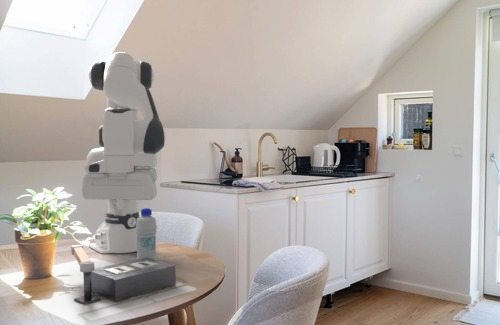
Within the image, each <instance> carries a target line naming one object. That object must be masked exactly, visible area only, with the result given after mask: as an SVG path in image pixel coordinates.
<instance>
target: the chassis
mask: <svg viewBox="0 0 500 325" xmlns="http://www.w3.org/2000/svg"><path fill="white" fill-rule="evenodd" d="M176 268H177V267H176V265H175V264H172V263H169V262H165V261H161V260H157V259H156V260H154V259H150V258H142V259H137V258H136V259H134V260H129V261H124V262H120V263H119V262H118V263H115V264H111V265H106V266H101V267H96V268H95V267H94V271H92V272H91V282H92V294H93V295H95V296H98V297H100V298H103V299H106V300H109V301H111V302H114V303H119V302H123V301H126V300H130V299H134V298H137V297H141V296H144V295H148V294H151V293H154V292H158V291H162V290H166V289H169V288H173V287H176V285H177V282H176V276H177V273H176Z"/></svg>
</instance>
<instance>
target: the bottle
mask: <svg viewBox="0 0 500 325" xmlns="http://www.w3.org/2000/svg"><path fill="white" fill-rule="evenodd" d="M152 213H153V212H152V209H151V208H147V207H146V208H142V209H141V210H140V216H139V218H137V222H136V233H137V251H136V260H137V259H142V258H150V259H154V260H157V248H156V247H157V246H156V244H157V243H156V242H157V241H156V240H157V239H156V238H157V237H156V236H157V235H156V234H157V229H158V227H157V219H156V217H154V216H152V215H153V214H152Z"/></svg>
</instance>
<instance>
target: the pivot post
mask: <svg viewBox="0 0 500 325" xmlns="http://www.w3.org/2000/svg"><path fill="white" fill-rule="evenodd" d="M82 273H83V277H82V278H83V295H81V296H77V297H74V298H73V299H74V300H73V301H75V302H78V303H79V304H81V305H84V306H85V305H88V304H93V303H95V302H99V301H102V297H101V296H98V295H96V294H93V293H92V282H91V272H82Z"/></svg>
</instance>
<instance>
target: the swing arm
mask: <svg viewBox="0 0 500 325" xmlns="http://www.w3.org/2000/svg"><path fill="white" fill-rule="evenodd" d="M70 247H71V248H70V249H71V250H70V251H71V252H70V253H71V256H74V257H75V260H76V261H77V263H78V265H79V271H80V273H83V272H92V271H94V269H95V261H91V258H89V256H88V254H87V253H86V251H85V250H84V245H83V244H76V245H75V244H74V245H70Z"/></svg>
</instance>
